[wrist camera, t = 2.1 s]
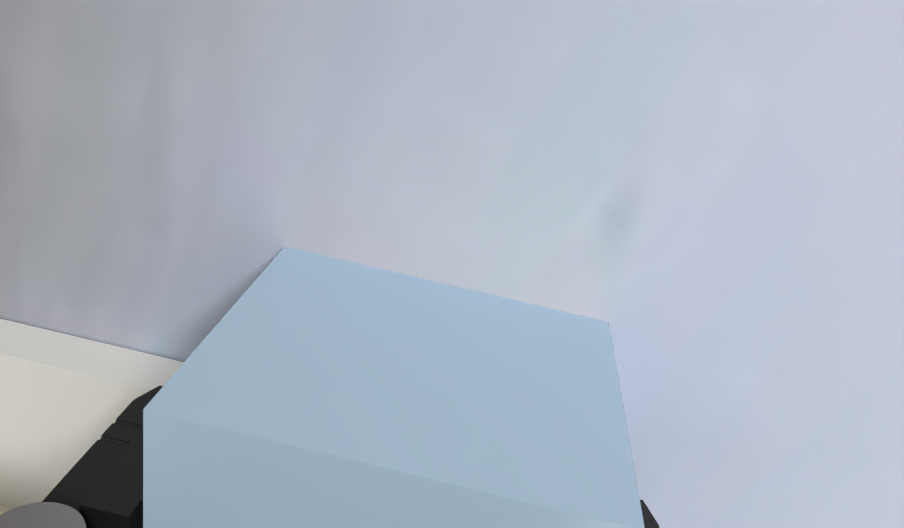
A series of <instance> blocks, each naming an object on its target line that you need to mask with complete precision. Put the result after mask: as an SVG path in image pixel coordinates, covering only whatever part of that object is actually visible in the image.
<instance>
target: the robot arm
mask: <svg viewBox="0 0 904 528" xmlns="http://www.w3.org/2000/svg"><path fill="white" fill-rule="evenodd" d="M162 387H163V386H161V385H159V386H158V387H156V388H154V389H152V390H150V391H149V392H147V393H145V394H143V395H141V396H139V397H138V398H136V399H134V400H133V401H132V402H131V403H130V404H129V405H128V406H127V408H126V409H125V410H124V411H123V412H122V413H121V414H120V415H119V416H118V418H117V419H116V422H115V423H112V424H111V425H110V426H109V428H108V429H107V430H106V431H105V432H104V433H103V434H102V435H101V439H100V440H97V441H96V442H95V443H94V444H93V445H92V446H91V448H90V449H89V450H88V451H87V452H86V453H85V454H84V455H83V456H82V458H81V459H80V460H79V461H78V462H77V463H76V464H75V465H74V466H73V468H72V469H71V470H70V471H69V472H68V473H67V474H66V475H65V476H64V477H63V479H62V480H61V481H60V482H59V483H58V484H57V485H56V486H55V487H54V489H53V490H52V491H51V492H50V493H49V494H48V495H47V496H46V497H45V499H44V500H43V501H42V502H37V503H31V504H26V505H23V506H19V507H16V508H14V509H11V510H9V511H7V512H5V513H3V514H1V515H0V528H143V409H144V408H145V407H146V405H147V404H148V403H149V402H150V401H151V400H152V399H153V397H154V396H155V395H156V394H157V393H158V392H159V391H160V389H161V388H162ZM640 504H641V509H642V515H643V521H644V527H645V528H659V525H658V523H657V522H656V520H655V518H654V517H653V515H652V514H651V512H650V511H649V509H648V508H647V506H646V505H645V503H644V501H643V500H640Z"/></svg>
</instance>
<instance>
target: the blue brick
mask: <svg viewBox="0 0 904 528" xmlns="http://www.w3.org/2000/svg"><path fill="white" fill-rule="evenodd" d="M143 528H645V527H644V521H643V515H642V509H641V504H640V498H639V492H638V486H637V481H636V475H635V469H634V464H633V458H632V452H631V446H630V441H629V435H628V429H627V424H626V418H625V412H624V406H623V401H622V395H621V389H620V383H619V378H618V372H617V366H616V361H615V355H614V349H613V343H612V338H611V332H610V326H609V322H606V321H601V320H597V319H593V318H588V317H584V316H580V315H576V314H571V313H567V312H563V311H558V310H554V309H550V308H546V307H541V306H537V305H533V304H529V303H524V302H520V301H516V300H511V299H507V298H503V297H499V296H494V295H490V294H486V293H482V292H477V291H473V290H469V289H464V288H460V287H456V286H452V285H447V284H443V283H439V282H434V281H430V280H426V279H422V278H417V277H413V276H409V275H405V274H400V273H396V272H392V271H387V270H383V269H379V268H375V267H370V266H366V265H362V264H358V263H353V262H349V261H345V260H340V259H336V258H332V257H328V256H323V255H319V254H315V253H310V252H306V251H302V250H298V249H293V248H289V247H284V248H283V249H282V250H281V251H280V252H279V254H278V255H277V256H276V257H275V258H274V259H273V260H272V262H271V263H270V264H269V265H268V266H267V267H266V269H265V270H264V271H263V272H262V273H261V274H260V275H259V277H258V278H257V279H256V280H255V281H254V282H253V283H252V285H251V286H250V287H249V288H248V289H247V290H246V292H245V293H244V294H243V295H242V296H241V297H240V298H239V300H238V301H237V302H236V303H235V304H234V305H233V306H232V308H231V309H230V310H229V311H228V312H227V313H226V315H225V316H224V317H223V318H222V319H221V320H220V321H219V323H218V324H217V325H216V326H215V327H214V328H213V330H212V331H211V332H210V333H209V334H208V335H207V336H206V338H205V339H204V340H203V341H202V342H201V343H200V344H199V346H198V347H197V348H196V349H195V350H194V351H193V353H192V354H191V355H190V356H189V357H188V358H187V359H186V361H185V362H184V363H183V364H182V365H181V366H180V367H179V369H178V370H177V371H176V372H175V373H174V374H173V376H172V377H171V378H170V379H169V380H168V381H167V382H166V384H165V385H164V386H163V387H162V388H161V389H160V391H159V392H158V393H157V394H156V395H155V396H154V397H153V399H152V400H151V401H150V402H149V403H148V404H147V405H146V407H145V408H144V409H143Z"/></svg>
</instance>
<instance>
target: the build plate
mask: <svg viewBox="0 0 904 528" xmlns="http://www.w3.org/2000/svg"><path fill="white" fill-rule="evenodd" d="M183 363H184V362H181V361H177V360H172V359H168V358H164V357H160V356H155V355H151V354H147V353H143V352H139V351H134V350H130V349H126V348H122V347H117V346H113V345H109V344H105V343H101V342H96V341H92V340H88V339H84V338H79V337H75V336H71V335H67V334H63V333H58V332H54V331H50V330H46V329H41V328H37V327H33V326H29V325H25V324H20V323H16V322H12V321H8V320H3V319H0V504H1V505H5V506H9V507H11V508H12V509H14V508H16V507H19V506H23V505H26V504H31V503H37V502H42V501H43V500H44V499H45V497H46V496H47V495H48V494H49V493H50V492H51V491H52V490H53V489H54V487H55V486H56V485H57V484H58V483H59V482H60V481H61V480H62V479H63V477H64V476H65V475H66V474H67V473H68V472H69V471H70V470H71V469H72V468H73V466H74V465H75V464H76V463H77V462H78V461H79V460H80V459H81V458H82V456H83V455H84V454H85V453H86V452H87V451H88V450H89V449H90V448H91V446H92V445H93V444H94V443H95V442H96V441H97V440H100V439H101V435H102V434H103V433H104V432H105V431H106V430H107V429H108V428H109V426H110V425H111V424H112V423H115V422H116V419H117V418H118V416H119V415H120V414H121V413H122V412H123V411H124V410H125V409H126V408H127V406H128V405H129V404H130V403H131V402H132V401H133V400H134V399H136V398H138V397H139V396H141V395H143V394H145V393H147V392H149V391H150V390H152V389H154V388H156V387H158V386H159V385H161V386H164V385H165V384H166V382H167V381H168V380H169V379H170V378H171V377H172V376H173V374H174V373H175V372H176V371H177V370H178V369H179V367H180V366H181V365H182V364H183Z"/></svg>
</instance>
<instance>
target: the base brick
mask: <svg viewBox="0 0 904 528" xmlns="http://www.w3.org/2000/svg"><path fill="white" fill-rule="evenodd" d="M11 509H12V508H11V507H9V506H5V505H1V504H0V515H1V514H3V513H5V512H7V511H9V510H11Z"/></svg>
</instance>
